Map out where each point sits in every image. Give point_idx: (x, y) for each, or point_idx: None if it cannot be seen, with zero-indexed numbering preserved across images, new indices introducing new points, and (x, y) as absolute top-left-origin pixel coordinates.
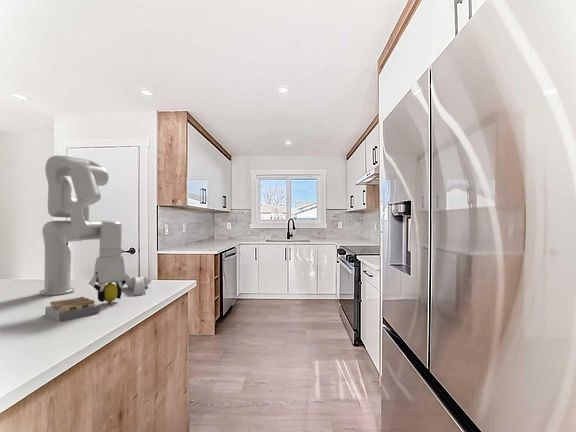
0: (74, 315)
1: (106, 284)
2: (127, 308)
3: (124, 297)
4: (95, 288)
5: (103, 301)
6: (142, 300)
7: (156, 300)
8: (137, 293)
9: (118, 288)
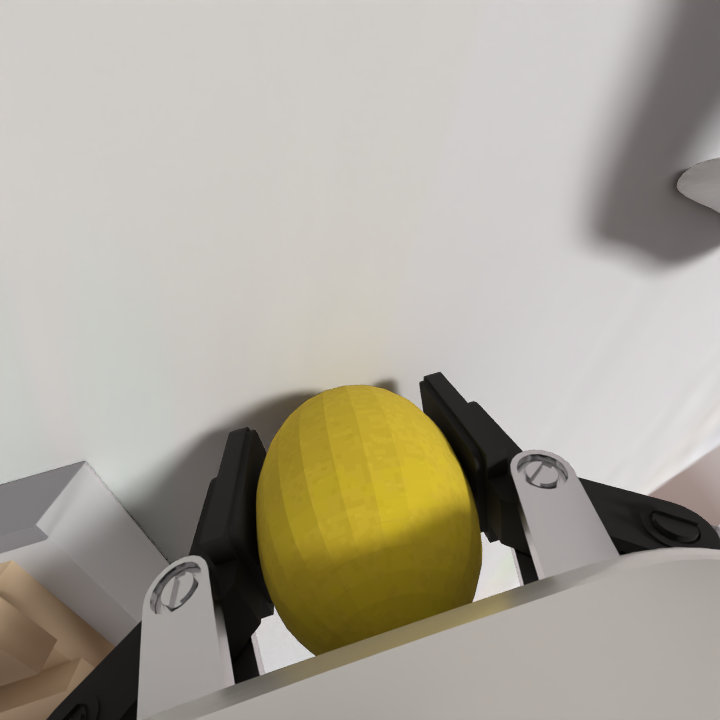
0: None
1: (334, 638)
2: None
3: (551, 229)
4: (119, 672)
5: None
6: (572, 447)
7: (622, 487)
8: (718, 204)
9: (489, 523)
